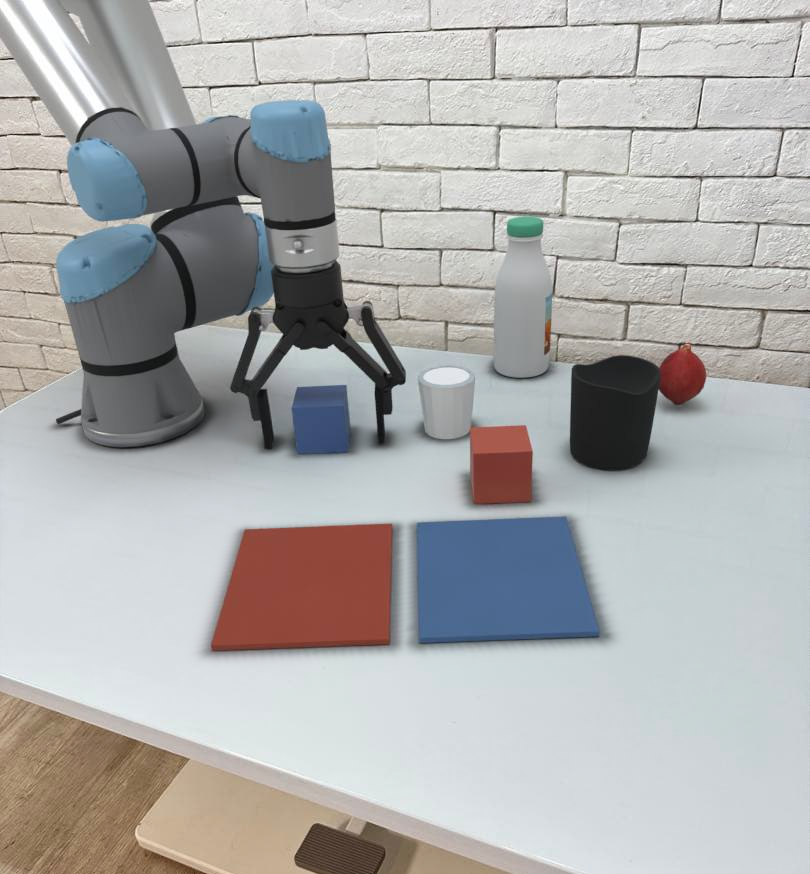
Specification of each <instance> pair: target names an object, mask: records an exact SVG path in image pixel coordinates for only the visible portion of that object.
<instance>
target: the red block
mask: <svg viewBox="0 0 810 874" xmlns="http://www.w3.org/2000/svg"><path fill="white" fill-rule="evenodd" d="M533 455H534V451H533V447H532V443H531V439H530V436H529V431H528V428H527V425H526V424H522V425H521V424H520V425H519V424H518V425H500V426H497V425H495V426H476V427H475V426H474V427H472V426H471V428H470V431H469V479H470V485H471V495H472V501H473V504H474V505H485V504H506V503H507V504H508V503H510V504H511V503H531V502H532V483H533V460H534V459H533Z"/></svg>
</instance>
